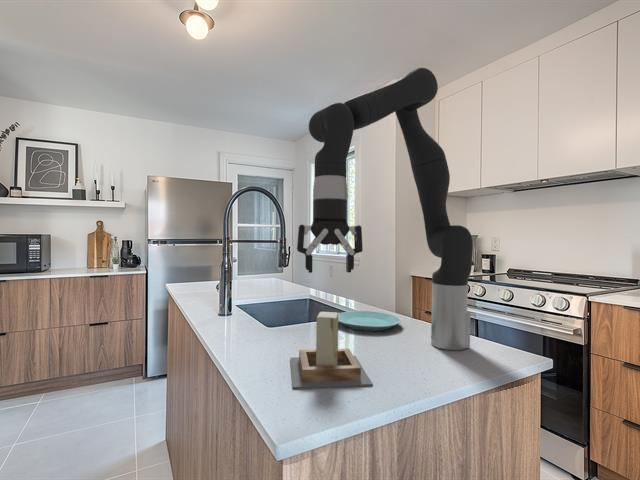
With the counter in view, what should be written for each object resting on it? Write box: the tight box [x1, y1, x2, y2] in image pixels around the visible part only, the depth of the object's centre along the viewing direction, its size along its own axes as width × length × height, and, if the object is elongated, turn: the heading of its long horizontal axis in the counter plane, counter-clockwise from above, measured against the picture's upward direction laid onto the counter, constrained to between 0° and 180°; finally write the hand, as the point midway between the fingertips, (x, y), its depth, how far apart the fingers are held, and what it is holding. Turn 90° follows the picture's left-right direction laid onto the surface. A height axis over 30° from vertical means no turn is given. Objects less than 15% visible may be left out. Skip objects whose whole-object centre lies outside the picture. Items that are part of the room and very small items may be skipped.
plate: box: [338, 310, 402, 332], centre depth 114 cm, size 22×22×3 cm
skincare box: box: [315, 311, 339, 367], centre depth 74 cm, size 6×4×12 cm
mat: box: [289, 355, 374, 390], centre depth 75 cm, size 16×16×1 cm
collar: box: [298, 348, 361, 382], centre depth 75 cm, size 12×12×2 cm
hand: (329, 272), depth 74 cm, fingers open, 8 cm apart
